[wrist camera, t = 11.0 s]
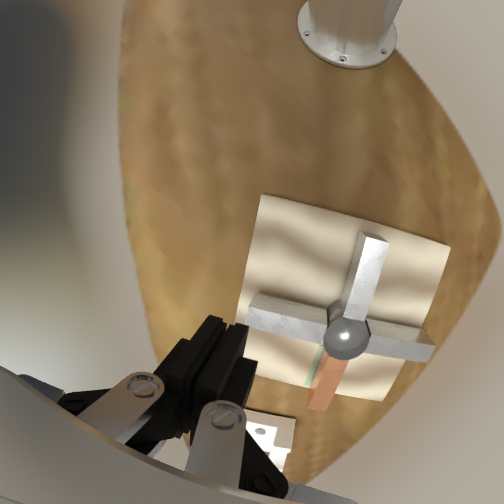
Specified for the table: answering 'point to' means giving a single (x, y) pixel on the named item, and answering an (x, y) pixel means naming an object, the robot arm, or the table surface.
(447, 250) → the base plate
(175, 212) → the table surface
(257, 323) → the capstan
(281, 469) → the bracket
